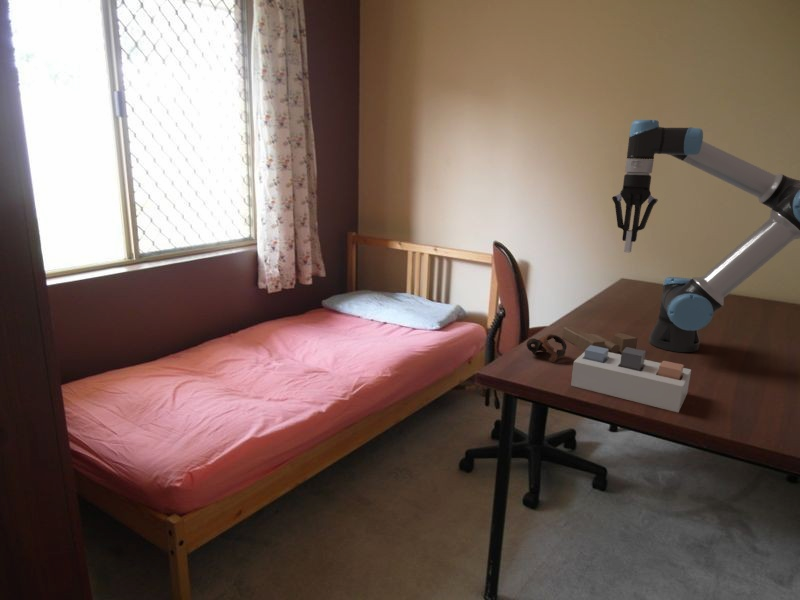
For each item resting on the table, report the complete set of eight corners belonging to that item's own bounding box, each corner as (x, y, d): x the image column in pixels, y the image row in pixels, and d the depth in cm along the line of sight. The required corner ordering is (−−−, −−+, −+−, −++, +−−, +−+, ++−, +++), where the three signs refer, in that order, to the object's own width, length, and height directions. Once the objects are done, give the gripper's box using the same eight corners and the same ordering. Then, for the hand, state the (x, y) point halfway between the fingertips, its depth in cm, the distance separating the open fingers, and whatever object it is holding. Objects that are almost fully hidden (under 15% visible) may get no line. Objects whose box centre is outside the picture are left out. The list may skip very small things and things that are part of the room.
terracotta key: (680, 382, 149) (683, 364, 147) (677, 388, 145) (680, 370, 143) (660, 378, 151) (663, 360, 150) (656, 384, 147) (659, 366, 146)
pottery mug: (553, 352, 183) (565, 334, 178) (558, 374, 176) (572, 356, 171) (519, 343, 181) (530, 325, 176) (523, 365, 174) (536, 347, 169)
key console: (687, 393, 153) (691, 369, 151) (678, 412, 141) (682, 386, 140) (586, 370, 167) (588, 347, 165) (570, 385, 156) (573, 361, 154)
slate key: (606, 365, 159) (608, 348, 158) (601, 371, 155) (603, 353, 154) (588, 361, 162) (590, 345, 160) (583, 366, 158) (585, 349, 156)
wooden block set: (595, 340, 178) (562, 323, 194) (593, 357, 179) (561, 339, 196) (640, 336, 183) (605, 320, 199) (638, 353, 184) (603, 335, 201)
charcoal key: (643, 368, 153) (645, 350, 152) (639, 374, 149) (641, 356, 148) (623, 364, 156) (626, 346, 155) (619, 369, 152) (621, 351, 151)
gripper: (612, 173, 171) (602, 250, 177) (658, 175, 164) (647, 256, 170) (618, 172, 177) (609, 247, 183) (663, 174, 170) (652, 252, 176)
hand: (627, 251), depth 176 cm, fingers closed
